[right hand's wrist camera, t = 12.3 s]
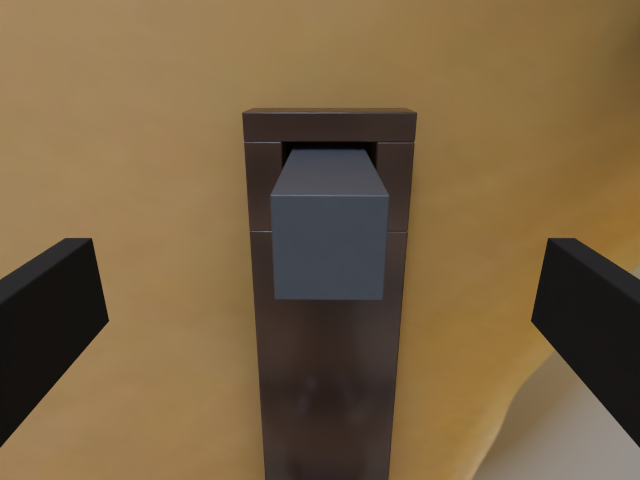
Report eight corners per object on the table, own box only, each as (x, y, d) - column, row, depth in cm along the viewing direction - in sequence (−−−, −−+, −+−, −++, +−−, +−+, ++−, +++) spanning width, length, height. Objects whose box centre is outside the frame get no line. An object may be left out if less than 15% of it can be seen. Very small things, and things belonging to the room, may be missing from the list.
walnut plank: (379, 494, 36) (398, 642, 26) (272, 492, 36) (253, 639, 26) (407, 108, 25) (456, 127, 15) (251, 108, 25) (206, 127, 15)
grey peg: (359, 207, 27) (383, 301, 16) (296, 207, 27) (274, 300, 16) (361, 142, 25) (389, 195, 14) (294, 142, 25) (269, 194, 14)
